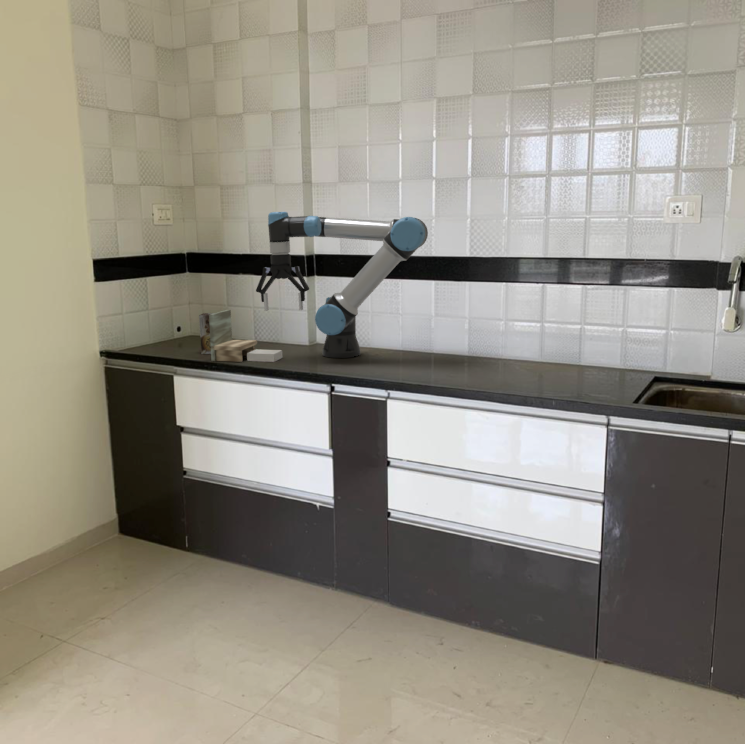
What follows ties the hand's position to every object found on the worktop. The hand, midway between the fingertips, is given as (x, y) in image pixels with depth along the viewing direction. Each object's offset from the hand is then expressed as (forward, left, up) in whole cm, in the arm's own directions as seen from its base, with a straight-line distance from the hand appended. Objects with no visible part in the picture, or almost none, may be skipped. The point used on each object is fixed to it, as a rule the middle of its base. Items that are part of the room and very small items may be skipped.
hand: (283, 310), depth 281 cm
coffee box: (+35, -10, -20) cm, 41 cm away
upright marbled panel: (+21, 0, -19) cm, 28 cm away
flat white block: (+8, 0, -19) cm, 21 cm away
